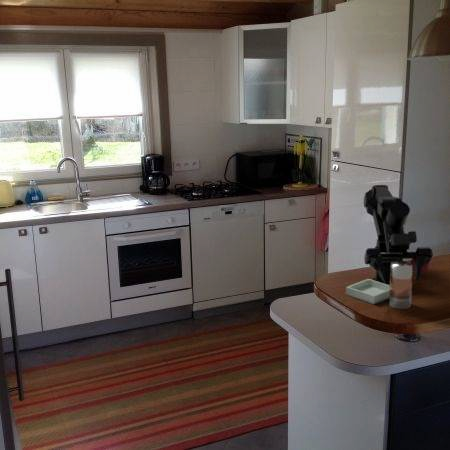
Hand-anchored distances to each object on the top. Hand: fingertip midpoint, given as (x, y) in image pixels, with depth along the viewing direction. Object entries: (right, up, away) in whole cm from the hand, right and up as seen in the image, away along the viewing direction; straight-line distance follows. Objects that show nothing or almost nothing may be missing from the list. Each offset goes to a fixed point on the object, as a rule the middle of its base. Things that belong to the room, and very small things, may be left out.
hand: (401, 282), depth 156 cm
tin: (0, -7, +3) cm, 7 cm away
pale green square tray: (-6, -5, +11) cm, 13 cm away
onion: (+14, 0, +26) cm, 29 cm away
